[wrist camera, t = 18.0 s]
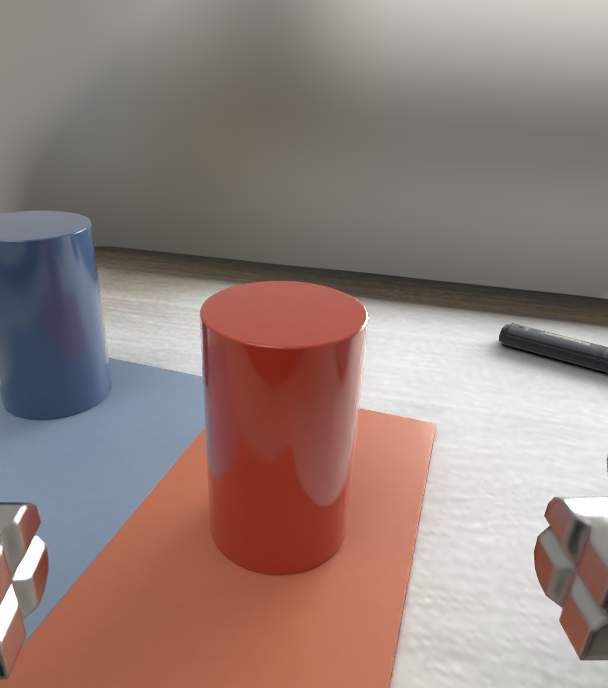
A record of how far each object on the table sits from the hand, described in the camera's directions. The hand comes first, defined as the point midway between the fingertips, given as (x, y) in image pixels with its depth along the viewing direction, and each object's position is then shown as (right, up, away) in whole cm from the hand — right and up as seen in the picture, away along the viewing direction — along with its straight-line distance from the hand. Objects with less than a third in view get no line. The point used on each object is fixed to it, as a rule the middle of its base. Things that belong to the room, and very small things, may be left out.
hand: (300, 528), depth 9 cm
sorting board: (-8, -4, +17) cm, 20 cm away
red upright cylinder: (-1, -5, +15) cm, 16 cm away
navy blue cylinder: (-14, 0, +24) cm, 28 cm away
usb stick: (+19, +2, +32) cm, 37 cm away
